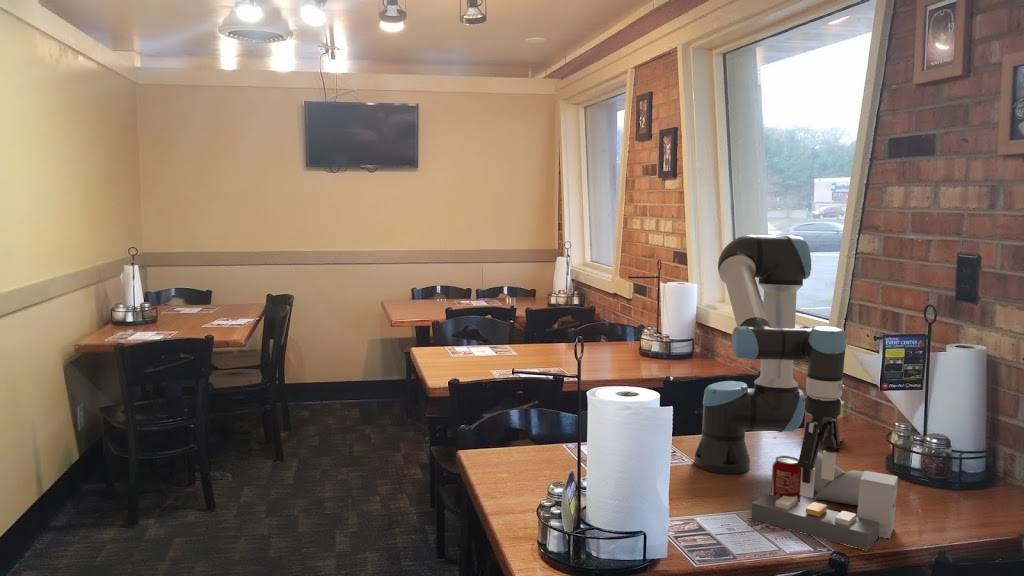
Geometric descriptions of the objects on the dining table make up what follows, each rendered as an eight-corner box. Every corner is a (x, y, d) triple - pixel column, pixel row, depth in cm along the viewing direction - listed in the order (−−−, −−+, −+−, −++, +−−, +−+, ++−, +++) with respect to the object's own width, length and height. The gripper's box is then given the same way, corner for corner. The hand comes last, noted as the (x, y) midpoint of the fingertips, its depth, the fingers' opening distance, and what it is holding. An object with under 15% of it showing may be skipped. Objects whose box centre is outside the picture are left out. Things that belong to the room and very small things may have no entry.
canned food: (842, 435, 259) (844, 398, 258) (840, 445, 249) (843, 407, 248) (804, 430, 264) (807, 394, 262) (801, 440, 254) (804, 402, 252)
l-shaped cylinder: (791, 497, 202) (879, 512, 194) (794, 455, 203) (882, 467, 195) (796, 490, 218) (878, 503, 210) (800, 450, 219) (881, 461, 211)
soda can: (801, 513, 195) (804, 464, 194) (771, 510, 197) (774, 462, 195) (797, 502, 202) (800, 455, 201) (768, 500, 203) (771, 453, 202)
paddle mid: (805, 513, 184) (805, 508, 184) (813, 506, 188) (813, 501, 188) (819, 516, 183) (819, 511, 182) (826, 510, 186) (826, 505, 186)
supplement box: (890, 540, 181) (894, 485, 180) (854, 532, 185) (858, 478, 183) (894, 528, 187) (898, 475, 186) (860, 521, 191) (864, 469, 190)
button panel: (751, 519, 191) (752, 497, 191) (764, 509, 197) (765, 488, 197) (866, 551, 175) (868, 528, 174) (877, 539, 181) (879, 517, 180)
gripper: (821, 411, 170) (814, 508, 173) (858, 388, 189) (851, 476, 192) (785, 404, 175) (780, 498, 178) (825, 383, 194) (819, 468, 197)
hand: (817, 487), depth 185 cm, fingers open, 13 cm apart
